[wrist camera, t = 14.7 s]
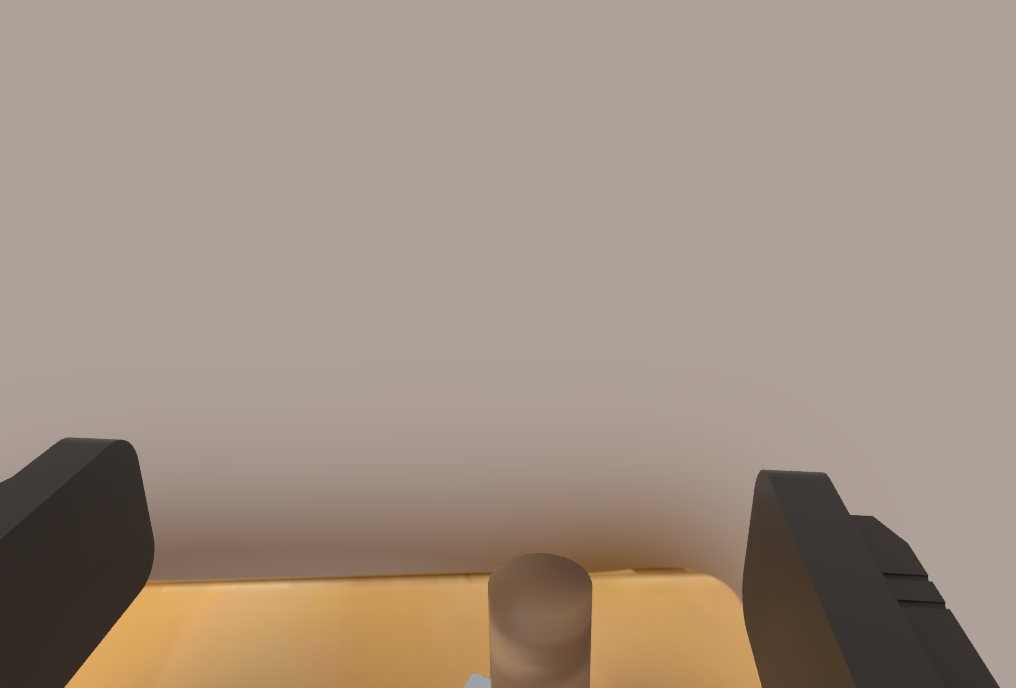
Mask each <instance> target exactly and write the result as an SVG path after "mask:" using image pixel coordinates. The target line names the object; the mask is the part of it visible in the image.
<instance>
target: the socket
mask: <svg viewBox="0 0 1016 688" xmlns="http://www.w3.org/2000/svg"><path fill="white" fill-rule="evenodd" d="M463 688H491V679H490V678H487V677H484V676H481V675H478V674H475V673H473V674H472V676H471V677H470V679H469V680H468V682H467V683H466V684H465V686H464V687H463Z"/></svg>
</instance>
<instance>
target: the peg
mask: <svg viewBox="0 0 1016 688" xmlns="http://www.w3.org/2000/svg"><path fill="white" fill-rule="evenodd" d="M488 598H489V634H490V671H491V688H589V686H590V650H591V614H592V581H591V579H590V576H589V575H588V573H587V572H586V571H585V570H584V569H583V568H582V567H581V566H580V565H578V564H577V563H575V562H573V561H572V560H569V559H567V558H564V557H561V556H557V555H552V554H542V553H536V554H526V555H521V556H517V557H514V558H512V559H509V560H507V561H505V562H504V563H502V564H501V565H499V566H498V567H497V568H496V569H495V570H494V571H493V573H492V574H491V576H490V578H489V582H488Z"/></svg>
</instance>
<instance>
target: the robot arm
mask: <svg viewBox="0 0 1016 688" xmlns="http://www.w3.org/2000/svg"><path fill="white" fill-rule="evenodd" d="M153 560H154V538H153V532H152V527H151V522H150V517H149V512H148V507H147V502H146V497H145V491H144V486H143V481H142V476H141V471H140V466H139V461H138V457H137V454H136V451H135V449H134V448H133V446H132V445H131V444H130V443H129V442H127V441H125V440H115V439H93V438H64V439H62V440H60V441H59V442H57V443H56V444H54V445H53V446H52V447H50V448H49V449H48V450H47V451H45V452H44V453H43V454H41V455H40V456H39V457H38V458H36V459H35V460H34V461H32V462H31V463H30V464H28V465H27V466H26V467H25V468H23V469H22V470H21V471H19V472H18V473H17V474H15V475H14V476H13V477H11V478H9V479H7V480H5V481H3V482H1V483H0V688H64V687H65V686H66V685H67V683H68V682H69V681H70V680H71V678H72V677H73V676H74V675H75V673H76V672H77V671H78V670H79V668H80V667H81V666H82V665H83V663H84V662H85V661H86V660H87V658H88V657H89V656H90V655H91V653H92V652H93V651H94V650H95V648H96V647H97V646H98V645H99V643H100V642H101V641H102V640H103V638H104V637H105V636H106V635H107V633H108V632H109V631H110V629H111V628H112V627H113V626H114V624H115V623H116V622H117V621H118V619H119V618H120V617H121V616H122V614H123V613H124V612H125V611H126V609H127V608H128V607H129V606H130V604H131V603H132V602H133V601H134V599H135V598H136V597H137V596H138V594H139V593H140V592H141V590H142V589H143V588H144V586H145V584H146V582H147V580H148V577H149V575H150V572H151V569H152V565H153ZM742 593H743V612H744V620H745V625H746V630H747V633H748V637H749V641H750V644H751V648H752V652H753V655H754V659H755V663H756V666H757V670H758V674H759V677H760V681H761V685H762V688H1000V687H999V686H998V684H997V683H996V681H995V679H994V678H993V676H992V675H991V673H990V672H989V670H988V669H987V667H986V665H985V664H984V662H983V661H982V659H981V658H980V656H979V654H978V653H977V651H976V650H975V648H974V647H973V645H972V644H971V642H970V640H969V639H968V637H967V636H966V634H965V632H964V631H963V629H962V628H961V626H960V625H959V623H958V622H957V620H956V618H955V617H954V615H953V613H952V612H951V610H950V609H946V607H945V601H944V599H943V598H942V596H941V595H940V593H939V591H938V590H937V589H936V587H935V585H934V584H933V582H930V581H928V574H927V573H926V571H925V569H924V568H923V566H922V565H921V563H920V562H919V560H918V559H917V557H916V555H915V554H914V552H913V551H912V549H911V548H910V546H909V544H908V543H907V542H905V541H904V540H903V539H901V538H900V537H899V536H898V535H896V534H895V533H894V532H892V531H891V530H890V529H889V528H887V527H886V526H885V525H883V524H882V523H881V522H880V521H878V520H877V519H876V518H874V517H873V516H859V515H850V514H849V512H848V511H847V509H846V507H845V505H844V504H843V502H842V500H841V498H840V496H839V495H838V493H837V491H836V489H835V487H834V485H833V484H832V482H831V480H830V478H829V477H828V476H827V474H825V473H822V472H801V471H778V470H761V471H760V472H759V474H758V476H757V479H756V483H755V489H754V496H753V505H752V512H751V519H750V527H749V535H748V543H747V550H746V558H745V565H744V573H743V588H742Z"/></svg>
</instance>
